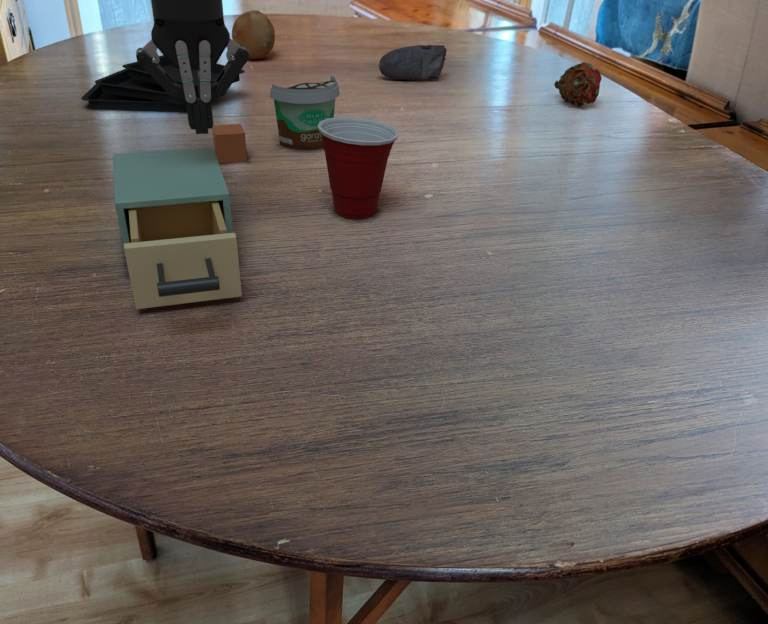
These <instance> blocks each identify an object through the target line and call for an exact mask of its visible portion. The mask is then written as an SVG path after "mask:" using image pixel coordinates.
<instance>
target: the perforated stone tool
mask: <svg viewBox="0 0 768 624" xmlns="http://www.w3.org/2000/svg"><path fill="white" fill-rule="evenodd" d="M446 56H447V48H446V47H445V45H444V44H427V45H426V44H425V45H424V44H420V45H419V44H418V45H409V46H404V47H400V48H396V49H392V50H391V51H389V52H387V53H385V54H384V55H382V57H381V58H380V60H379V62H378V63H379V64H378V70H379V71H380V74H381V75H383V76H384V77H385V78H388V79H391V80H404V81H418V82H419V81H425V80H427V79H430V80H436V79H439V77H440V76H441V73H442V70H443V68H444V65H445V61H446V60H447V59H446Z"/></svg>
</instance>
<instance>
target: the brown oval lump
mask: <svg viewBox="0 0 768 624" xmlns="http://www.w3.org/2000/svg"><path fill="white" fill-rule="evenodd" d="M231 39H232V40H233V41H234V42H236V43H237V44H238V45H243V46H244V47H245V48H246V50H247V52H248V53H249V59H248V60H251V61H253V60H260V59H263V58H266V57H267V56H268V55H269V54H270V53H271V51H272V50H273V48H274V46H275V42H276V32H275V27H274V25H273V23H272V21H271V19H269V17H268V16H267V15H266V14H264V13H263V12H261V11H260V10H259V9H258V10H257V9H252V10H251V9H250V10H247V11H245V12H243V13H241V14H240V15H239V16H238V17H237V18H236V19H235V21H234V22H233V26H232V29H231Z"/></svg>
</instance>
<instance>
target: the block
mask: <svg viewBox="0 0 768 624" xmlns="http://www.w3.org/2000/svg"><path fill="white" fill-rule="evenodd" d="M243 128H244V127H243V126H242V124H241V123H226V124H213V127H212V129H211V131H212V141H213V142H212V143H213V148H214V151H215V154H216V157H217V160H218V163H219V165H220V164H231V163H245V162H246V163H247V162H248V155H247V141H246V140H247V139H246V132H245V130H244V129H243Z"/></svg>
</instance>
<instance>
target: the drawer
mask: <svg viewBox="0 0 768 624" xmlns="http://www.w3.org/2000/svg"><path fill="white" fill-rule="evenodd" d="M129 221H130V235H131V243H124V247H123V251H125V252H124V257H125V256H126V257H125V262H126V261H127V262H126V266H128V268H127V272H128V271H129V273H128V275H129V276H128V277H129V280H130V286H131V291H132V295H133V296H132V297H133V301H134V307H135V310H142V309H149V308H158V307H166V306H174V305H184V304H192V303H199V302H209V301H217V300H224V299H232V298H233V299H234V298H240V297H242V296H243V293H242V282H241V281H242V280H241V272H240V270H241V269H240V261H239V260H240V259H239V251H238V248H239V247H238V238H237V234H236V232H233V233H227V229H226V225H225V222H224V219H223V216H222V212H221V209H220V206H219V203H218V201H209V202H197V203H186V204H174V205H162V206H151V207H139V208H129Z"/></svg>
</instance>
